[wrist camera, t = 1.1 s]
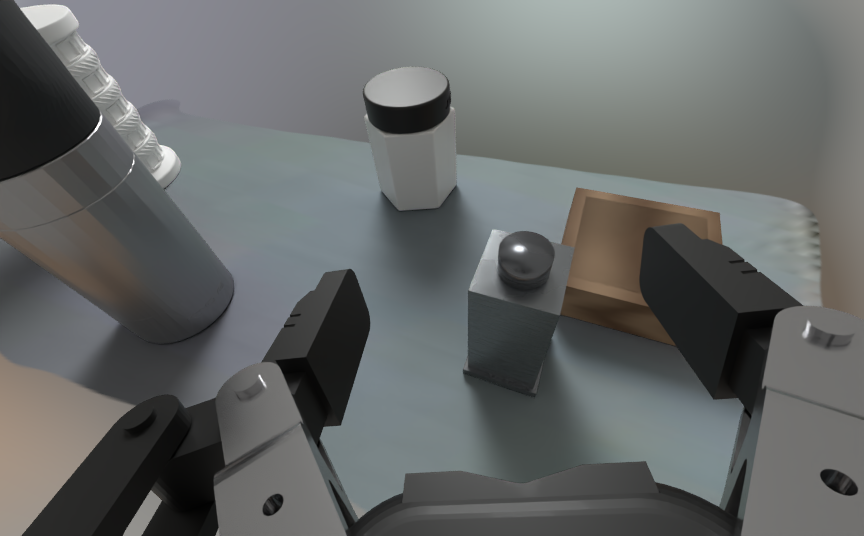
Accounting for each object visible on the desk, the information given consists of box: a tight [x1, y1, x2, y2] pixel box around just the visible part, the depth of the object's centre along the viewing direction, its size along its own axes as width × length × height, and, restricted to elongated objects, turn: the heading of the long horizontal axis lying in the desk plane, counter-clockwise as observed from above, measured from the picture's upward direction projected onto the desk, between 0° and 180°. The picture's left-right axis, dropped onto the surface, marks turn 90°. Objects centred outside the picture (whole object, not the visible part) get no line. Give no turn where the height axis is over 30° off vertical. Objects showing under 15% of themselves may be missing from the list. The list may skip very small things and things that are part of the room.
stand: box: [560, 188, 722, 346], centre depth 32 cm, size 12×12×4 cm
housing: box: [463, 229, 575, 398], centre depth 25 cm, size 6×6×12 cm
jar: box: [363, 67, 457, 211], centre depth 39 cm, size 9×8×12 cm
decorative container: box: [20, 5, 181, 189], centre depth 42 cm, size 12×12×18 cm
